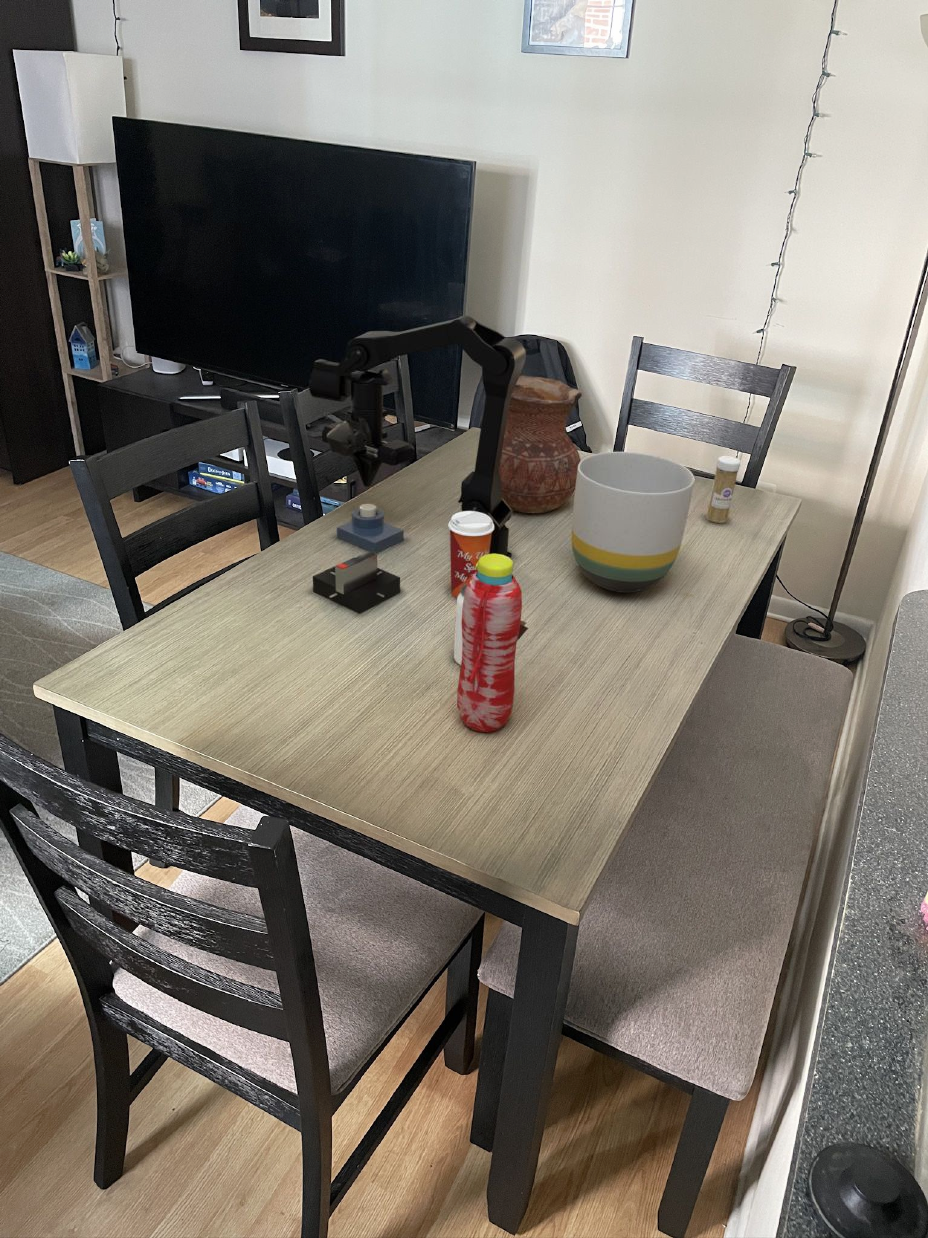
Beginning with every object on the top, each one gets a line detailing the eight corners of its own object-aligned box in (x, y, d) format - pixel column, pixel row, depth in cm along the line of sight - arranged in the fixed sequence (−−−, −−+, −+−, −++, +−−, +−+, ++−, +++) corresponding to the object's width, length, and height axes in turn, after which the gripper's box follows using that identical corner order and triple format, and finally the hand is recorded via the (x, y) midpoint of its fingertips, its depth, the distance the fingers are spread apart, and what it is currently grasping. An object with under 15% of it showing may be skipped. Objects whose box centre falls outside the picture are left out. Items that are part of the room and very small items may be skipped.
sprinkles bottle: (714, 525, 185) (727, 463, 179) (701, 516, 189) (713, 456, 182) (732, 522, 187) (745, 461, 180) (718, 514, 191) (731, 454, 184)
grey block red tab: (369, 574, 152) (369, 549, 150) (377, 578, 151) (377, 553, 149) (335, 590, 147) (335, 565, 144) (343, 594, 146) (342, 568, 143)
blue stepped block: (407, 538, 172) (407, 519, 170) (374, 553, 166) (374, 534, 164) (367, 522, 178) (367, 504, 176) (334, 536, 172) (334, 517, 170)
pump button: (379, 515, 173) (379, 506, 172) (368, 520, 170) (368, 511, 169) (367, 510, 174) (367, 502, 173) (356, 515, 172) (356, 506, 171)
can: (491, 674, 133) (497, 604, 127) (449, 667, 134) (453, 597, 128) (499, 651, 139) (504, 583, 133) (458, 645, 140) (462, 577, 134)
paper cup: (457, 607, 150) (461, 531, 143) (437, 587, 156) (440, 513, 149) (498, 598, 153) (504, 524, 146) (476, 579, 159) (481, 506, 152)
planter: (545, 567, 165) (557, 457, 154) (634, 553, 172) (652, 447, 161) (599, 617, 149) (617, 499, 139) (695, 600, 157) (718, 486, 146)
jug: (594, 499, 194) (609, 385, 182) (549, 531, 179) (562, 409, 166) (506, 475, 204) (514, 366, 191) (456, 503, 188) (462, 386, 176)
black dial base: (411, 597, 152) (411, 581, 151) (357, 626, 143) (357, 609, 142) (354, 572, 159) (354, 556, 158) (299, 598, 150) (298, 581, 149)
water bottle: (480, 685, 130) (491, 529, 118) (530, 701, 128) (547, 543, 115) (441, 728, 121) (449, 564, 108) (494, 747, 118) (509, 581, 106)
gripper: (298, 402, 161) (301, 483, 169) (374, 427, 151) (373, 512, 159) (342, 390, 168) (343, 469, 176) (417, 413, 159) (415, 495, 167)
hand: (367, 485), depth 169 cm, fingers closed
